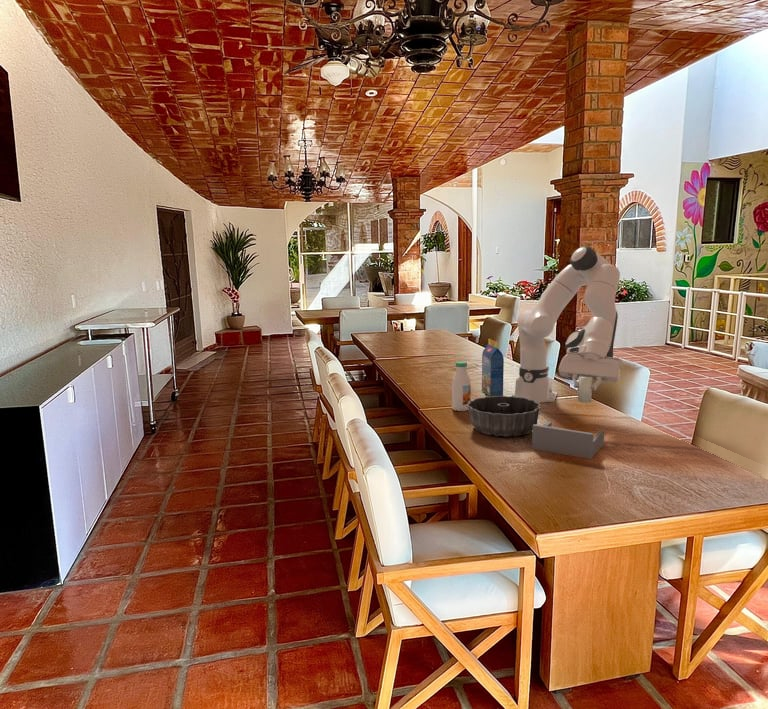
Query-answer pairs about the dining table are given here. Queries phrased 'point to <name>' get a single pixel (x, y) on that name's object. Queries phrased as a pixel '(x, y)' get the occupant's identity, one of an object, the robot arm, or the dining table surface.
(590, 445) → the grey open tray
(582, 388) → the dome-topped cream cylinder
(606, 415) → the dining table surface
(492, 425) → the bundt pan
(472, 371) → the dining table surface
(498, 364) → the blue food package
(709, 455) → the dining table surface
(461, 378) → the milk bottle
